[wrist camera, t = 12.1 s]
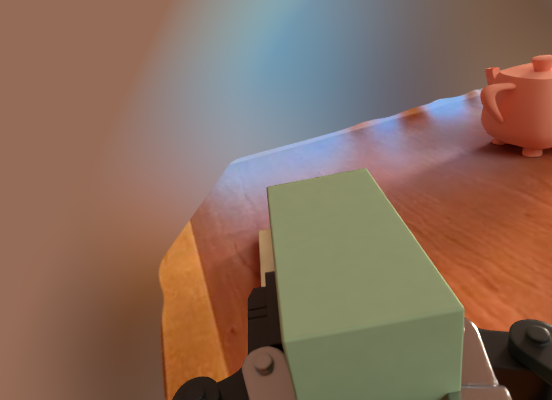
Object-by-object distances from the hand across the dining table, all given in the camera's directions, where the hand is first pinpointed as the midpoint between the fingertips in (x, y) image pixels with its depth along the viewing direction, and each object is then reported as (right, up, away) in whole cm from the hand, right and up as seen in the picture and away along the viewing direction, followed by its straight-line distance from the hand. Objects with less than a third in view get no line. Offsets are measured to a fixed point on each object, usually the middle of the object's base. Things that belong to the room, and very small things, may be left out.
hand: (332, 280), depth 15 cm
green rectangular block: (+1, -7, +1) cm, 8 cm away
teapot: (+41, +13, +51) cm, 66 cm away
